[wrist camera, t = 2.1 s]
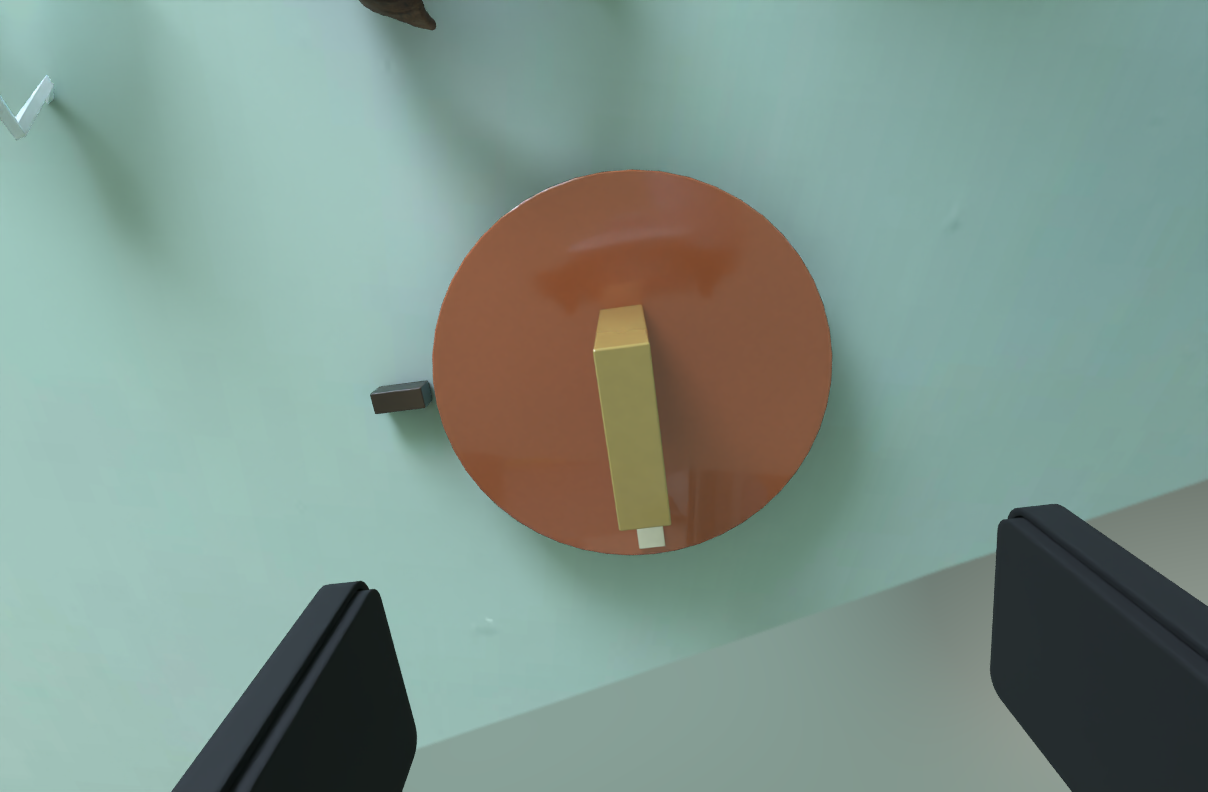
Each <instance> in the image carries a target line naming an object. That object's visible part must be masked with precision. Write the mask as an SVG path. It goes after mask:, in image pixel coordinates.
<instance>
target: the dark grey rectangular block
mask: <svg viewBox="0 0 1208 792" xmlns="http://www.w3.org/2000/svg"><path fill="white" fill-rule="evenodd" d="M370 396H371V400H372V404H373V407H374V411H375V414H381V413H389V412H397V411H405V410H413V409H421V408H426V406H427V405H428V404H429V403H430V402H431V401H432V396H431V392H430V388H429V383H428V381H420V382H412V383H404V384H397V385H389V386H381V387H378V388H377V389H376V390H375V391H374V392H372V393H371V394H370Z"/></svg>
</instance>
